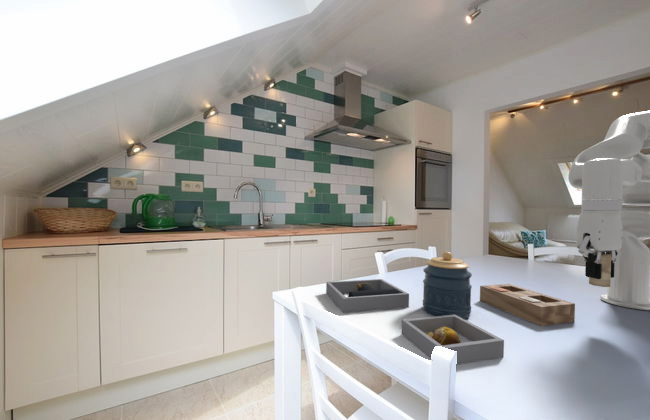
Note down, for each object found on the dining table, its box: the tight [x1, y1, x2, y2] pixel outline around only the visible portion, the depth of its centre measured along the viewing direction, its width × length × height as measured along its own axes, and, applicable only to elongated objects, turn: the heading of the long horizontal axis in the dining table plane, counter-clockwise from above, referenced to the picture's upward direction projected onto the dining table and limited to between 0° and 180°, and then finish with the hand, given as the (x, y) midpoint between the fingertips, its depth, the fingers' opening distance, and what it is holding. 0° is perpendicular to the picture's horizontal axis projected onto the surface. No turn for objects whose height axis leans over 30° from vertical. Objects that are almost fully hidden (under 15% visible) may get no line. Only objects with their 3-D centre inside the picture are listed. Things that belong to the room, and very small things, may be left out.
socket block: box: [479, 283, 576, 327], centre depth 84 cm, size 12×20×5 cm, turn 16°
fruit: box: [424, 327, 462, 346], centre depth 63 cm, size 8×8×4 cm
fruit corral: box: [401, 315, 505, 366], centre depth 62 cm, size 15×14×4 cm
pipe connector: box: [347, 283, 399, 297], centre depth 89 cm, size 12×5×15 cm
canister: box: [422, 251, 473, 320], centre depth 82 cm, size 13×13×18 cm
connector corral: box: [325, 278, 410, 314], centre depth 91 cm, size 21×18×4 cm
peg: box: [588, 253, 611, 288], centre depth 73 cm, size 4×4×8 cm
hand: (599, 276), depth 73 cm, fingers closed on peg, 4 cm apart
